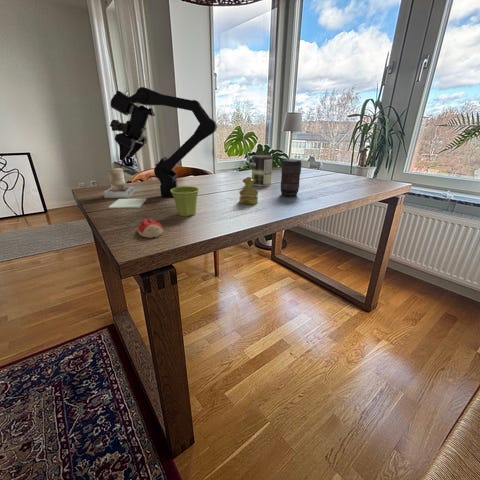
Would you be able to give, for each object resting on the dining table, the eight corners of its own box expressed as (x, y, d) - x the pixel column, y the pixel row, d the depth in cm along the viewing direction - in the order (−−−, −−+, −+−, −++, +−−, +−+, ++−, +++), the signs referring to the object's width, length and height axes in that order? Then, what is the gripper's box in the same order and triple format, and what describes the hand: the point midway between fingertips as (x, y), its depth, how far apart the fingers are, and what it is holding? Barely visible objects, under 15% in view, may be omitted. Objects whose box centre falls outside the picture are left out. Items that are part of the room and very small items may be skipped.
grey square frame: (134, 192, 118) (133, 186, 116) (127, 197, 109) (126, 191, 108) (113, 192, 117) (112, 186, 116) (104, 198, 108) (103, 192, 107)
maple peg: (128, 193, 116) (124, 168, 111) (124, 196, 111) (119, 170, 106) (116, 193, 115) (111, 168, 111) (111, 196, 110) (105, 170, 106)
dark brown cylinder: (300, 194, 116) (303, 159, 110) (295, 198, 109) (299, 162, 103) (282, 192, 119) (285, 158, 113) (277, 196, 112) (279, 160, 106)
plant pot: (194, 219, 85) (193, 193, 82) (168, 217, 87) (165, 192, 84) (204, 210, 94) (202, 187, 90) (179, 208, 96) (177, 185, 92)
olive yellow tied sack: (254, 205, 99) (255, 179, 95) (236, 203, 102) (236, 178, 98) (259, 201, 106) (260, 176, 102) (242, 199, 108) (243, 175, 104)
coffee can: (253, 186, 129) (253, 157, 123) (250, 182, 138) (250, 154, 133) (273, 186, 130) (275, 157, 124) (268, 181, 140) (270, 154, 134)
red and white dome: (143, 241, 70) (141, 229, 69) (134, 229, 78) (133, 218, 76) (167, 236, 73) (166, 224, 72) (157, 225, 81) (155, 214, 79)
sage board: (146, 199, 106) (146, 198, 106) (139, 208, 96) (138, 206, 96) (119, 200, 105) (118, 198, 105) (108, 208, 95) (108, 207, 95)
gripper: (127, 112, 107) (116, 147, 113) (106, 109, 90) (94, 151, 96) (152, 125, 109) (140, 159, 115) (137, 126, 92) (124, 165, 98)
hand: (125, 158), depth 106 cm, fingers open, 9 cm apart
